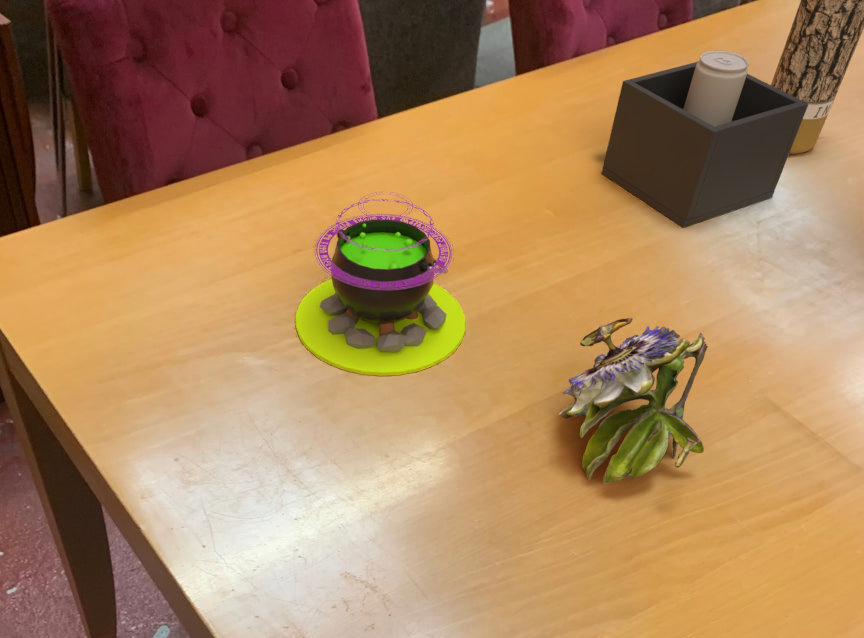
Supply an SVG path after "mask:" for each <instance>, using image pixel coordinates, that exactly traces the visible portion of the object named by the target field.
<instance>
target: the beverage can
mask: <svg viewBox="0 0 864 638" xmlns="http://www.w3.org/2000/svg"><path fill="white" fill-rule="evenodd" d="M696 62H697V64H696V68H695V71H694V75H693V78H692V81H691V85H690V88H689V92H688V95H687V99H686V102H685V106H684V109H683V110H685V111H686V112H688V113H690V114H692V115H694V116H695V117H697V118H699V119H701V120H703V121H705V122H706V123H708V124H710V125H712V126H714V127H716V126H719V125H722V124H726V123H729V122H731V121H732V118H733V115H734V112H735V109H736V106H737V103H738V100H739V97H740V94H741V91H742V88H743V85H744V82H745V79H746V76H747V74H749V73H748V71H749V69H748V68H749V65H750V63H749V62H750V61H749V60H748V58H747V57H744V56H743V55H741V54H739V53H735V52H731V51H728V50H727V51H726V50H709V51H705V52H703V53H702V54H700V56H699V60H698V61H696Z"/></svg>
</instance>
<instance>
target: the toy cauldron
mask: <svg viewBox="0 0 864 638" xmlns="http://www.w3.org/2000/svg"><path fill="white" fill-rule="evenodd" d="M370 195H372V197H374V196H375V195H377V196H381V195H383V192H380V193H378V191H377V192H376V191H375V192H374V194H373V192H371V193H368V194H367V195H364V196H363V197H361V198H360V200H359V201H358V202H356V203H353V204H351V205H350V206H348V207H345V208H343V210H342V211H340V214H338V215H337V219H336V220H335V223H334V224H332V225H331V226H329V227H326V229H324V231H323V232H321V233H320V234H319V236H318V238H317V239H316V240H315V245H314V251H315V253H314V256H315V259H316V261H317V263H318V264H319V266H320V267H321V269H323V270H324V271H325V272H326V273H327V274H328V275H330V279H327V280H325V281H323V282H321V283H320V284H318V285H316V286H315V287H314V288H312V289H311V290H310V291H308V293H306V295H305V296H304V297H303V298H302V300H301V301H300V303H299V305H298V307H297V309H296V312H295V313H296V314H295V318H294V319H295V320H294V322H295V323H294V324H295V331H296V333H297V335H298V336H297V337H298V338H299V340H300V342H301V343H302V344H303V345H304V347H305V348H306V350H307V351H309V352H310V353H311V354H313V356H315V357H316V358H317V359H319V360H321V361H323V362H325V363H326V364H328V365H330V366H332V367H335V368H337V369H341V370H343V371H346V372H350V373H356V374H359V375H366V376H377V377H378V376H380V377H384V376H385V377H387V376H401V375H406V374H407V375H408V374H413V373H417V372H420V371H423V370H426V369H429V368H432V367H434V366H436V365H438V364H440V363H442V362H443V361H445V360H446V359H447V358H448V357H451V355H452V354H454V353H455V352H456V351H457V350H458V348H459V346H460V345H461V344H462V342H463V341H464V337H465V335H466V325H467V324H466V322H467V321H466V317H465V312H464V310H463V308H462V307H461V305H460V303H459V301H458V300H457V299H456V298H455V297H454V296H453V295H452V294H451V293H450V292H449V291H447V290H446V289H444V288H443V287H441V286H440V285H439V284H437V283H435V282H434V280H435V279H436V278H438V277H440V276H442V275H446V274H447V273H449V269H450V267H451V266H450V265H451V263H453V262H454V260H455V257H453V255H452V253H453V251H455V249H454V248H453V247H454V245H453V243H452V241H450V238H449V237H447V236H446V235H445V234H443V233H442V231H441V230H440V229H437V227H434V226H435V223H434V220H433V218H432V217H431V215H430V214H428V212H427V211H426V210H424V209H422V208H421V207H420V206H417V205H415V204H413V201H410V200H409V199H408V197H407V196H404V195H402V194H400V193H398V192H396V194H395V192H394V191H391V192H389V193H388V195H389V196H390V195H391V196H392V195H394V196H395V197H399V198H401V199H402V200H397V199H394V200H392V202H395V203H397V204H398V203H399V204H404V205H407V206H409V207H407V209H406V211H404V212H403V213H401V214H393V213H385V215H383V213H376V214H373V213H370V212H368V211H367V210H366V209H365V207H364V206H360V205H363V204H367V203H368V202H371V199H369V197H370ZM366 196H367V197H366ZM363 198H366V199H365V200H364V199H363ZM405 198H406V201H403V200H404V199H405ZM380 201H382V202H385V201H386V202H389V198H376V199H375V198H374V199H372V202H380ZM354 207H358V209H359V211H360V212H361V213H362V214H361V215H355V216H351V217H348V218H345V219H341V218H342V216H343V214H345V213H346V212H347V211H348V210H350V209H351V208H354ZM362 209H363V211H362ZM413 209H417V210H418V211H419V212H422V214H423V215H424V216H426V217H427V218H430V219H429V220H428V221H429V223H427V222H425V221H423V220H420V219H417V218H414V217H410V216H408V215H409V214H410V212H413ZM364 210H365V211H364ZM409 210H410V212H409ZM403 214H404V215H403ZM335 236H336V237H337V241H336V245H335V250H334V252H333V255H332V258H331V257H330V255H329V245H330V243H331V241H332V239H333V238H334V237H335ZM430 237H431V238H432V239H433V241H434V242H435V243H436V246H437V249H438V257H437V259H435V258H434V255H433V252H432V249H431V240H430Z"/></svg>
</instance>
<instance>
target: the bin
mask: <svg viewBox="0 0 864 638" xmlns="http://www.w3.org/2000/svg"><path fill="white" fill-rule="evenodd" d="M697 62H698V61H695V62H690V63H688V64H684V65H678V66H676V67H673V68H668V69H664V70H660V71H657V72H653V73H652V72H651V73H649V74H645V75H641V76H638V77H637V76H636V77H633V78H630V79H625V80H623V81H622V84H621V88H620V92H619V97H618V100H617V105H616V109H615V114H614V118H613V122H612V125H611V130H610V135H609V139H608V143H607V148H606V152H605V157H604V161H603V164H602V168H601V175H603V176H604V177H606V178H608V179H609V180H610V181H612V182H614V184H617V185H618V186H620V187H621V188H622V189H624V190H626V191H627V192H629V193H630V194H632V195H633V196H635V197H636V198H638V199H639V200H641V201H642V202H643V203H644V204H645V203H646V204H647V205H648V206H650V207H651V208H653V209H654V210H656V211H657V212H659V213H660V214H662V215H663V216H664V217H667V218H668V219H670V220H671V221H672V222H674V223H676V224H677V225H679V226H680V227H681V228H687V227H690V226H693V225H695V224H698V223H701V222H705V221H708V220H710V219H714V218H716V217H719V216H722V215H725V214H728V213H731V212H733V211H736V210H739V209H742V208H745V207H749V206H751V205H755V204H757V203H760V202H763V201H765V200H769V199H771V198H773V197H774V194H775V192H776V188H777V185H778V184H779V181H780V178H781V175H782V173H783V170H784V168H785V166H786V162H787V160H788V158H789V155H790V150H791V148H792V145H793V143H794V140H795V137H796V135H797V132H798V130H799V127H800V125H801V122H802V120H803V117H804V115H805V112H806V109H807V107H808V103H806V102H804V101H802V100H800V99H798V98H796V97H794V96H792V95H790V94H788V93H786V92H784V91H781V90H779V89H777V88H775V87H773V86H771V84H769V83H768V82H766V81H763V80H761V79H759V78H757V77H755V76H753V75H751V74H749V73H747V76H746V79H745V82H744V85H743V88H742V91H741V94H740V97H739V100H738V103H737V106H736V109H735V112H734V115H733V118H732V121H731V122H729V123H726V124H722V125H719V126H716V127H714V126H712V125H710V124H708V123H706V122H705V121H703V120H701V119H699V118H697V117H695V116H694V115H692V114H690V113H688V112H686V111H685V110H683V109H684V106H685V102H686V99H687V95H688V92H689V88H690V85H691V81H692V78H693V75H694V71H695V68H696V64H697Z"/></svg>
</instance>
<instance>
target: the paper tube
mask: <svg viewBox="0 0 864 638" xmlns="http://www.w3.org/2000/svg"><path fill="white" fill-rule="evenodd" d="M790 27H791V28H790V30H789V32H788V36H787V38H786V41H785V44H784V47H783V50H782V52H781V55H780V58H779V61H778V63H777V67H776V69H775V72H774V75H773V77H772V80H771V83H770V85H771V86H773V87H775V88H777V89H779V90H781V91H784V92H786V93H788V94H790V95H792V96H794V97H796V98H798V99H800V100H802V101H804V102H806V103H808V107H807V109H806V112H805V115H804V117H803V120H802V122H801V125H800V127H799V130H798V132H797V135H796V137H795V140H794V143H793V145H792V148H791V150H790V153H789V155H791V154H792V155H794V154H801V153H806V152H808V151H810V150H812V149H813V148H814V147H815V145H816V144H817V142H818V139H819V138H820V135H821V133H822V130H823V127H824V125H825V123H826V120H827V118H828V115H829V113H830V112H831V109H832V106H833V105H834V101H835V100H836V97H837V94H838V93H839V90H840V87H841V85H842V82H843V80H844V78H845V75H846V73H847V70H848V68H849V66H850V63H851V61H852V58H853V55H854V53H855V51H856V49H857V46H858V44H859V41H860V38H861V36H862V34H863V31H864V0H800V2H799V4H798V7H797V10H796V13H795V16H794V19H793V21H792V24H791V26H790Z"/></svg>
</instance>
